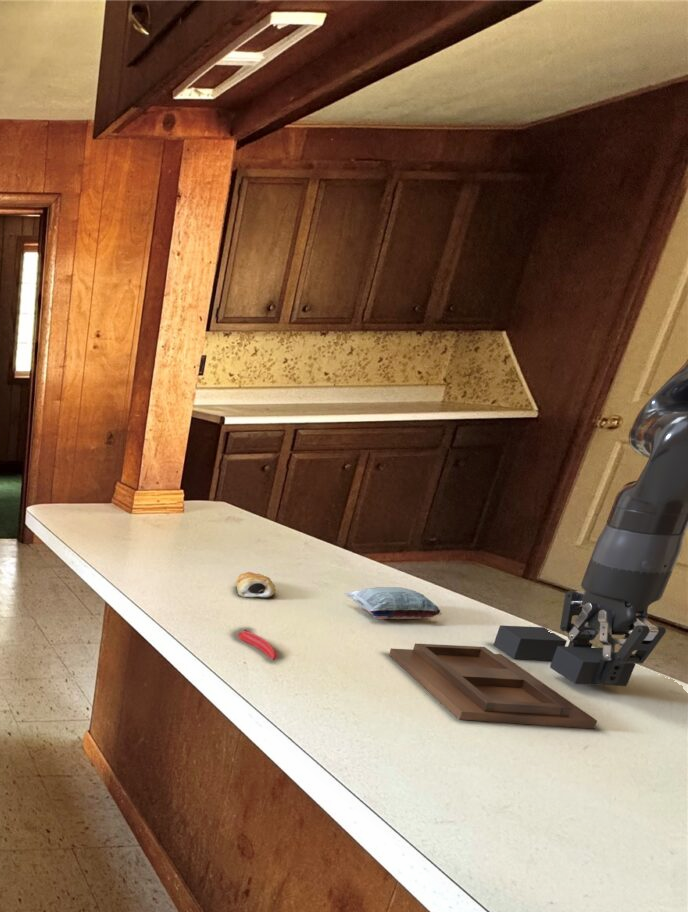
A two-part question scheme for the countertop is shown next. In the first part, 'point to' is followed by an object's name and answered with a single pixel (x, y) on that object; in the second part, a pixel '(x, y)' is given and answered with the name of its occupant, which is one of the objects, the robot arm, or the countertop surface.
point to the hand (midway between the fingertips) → (587, 673)
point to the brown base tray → (487, 686)
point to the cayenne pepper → (258, 643)
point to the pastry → (254, 585)
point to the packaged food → (394, 603)
